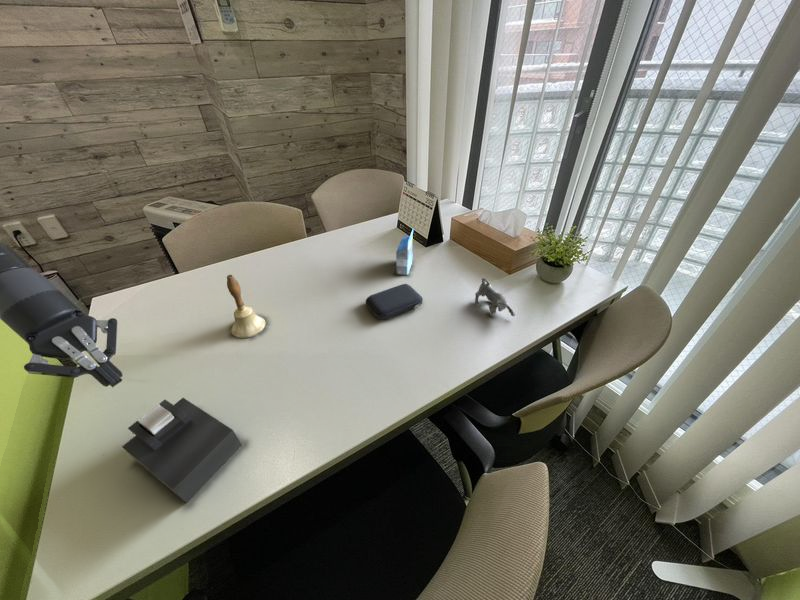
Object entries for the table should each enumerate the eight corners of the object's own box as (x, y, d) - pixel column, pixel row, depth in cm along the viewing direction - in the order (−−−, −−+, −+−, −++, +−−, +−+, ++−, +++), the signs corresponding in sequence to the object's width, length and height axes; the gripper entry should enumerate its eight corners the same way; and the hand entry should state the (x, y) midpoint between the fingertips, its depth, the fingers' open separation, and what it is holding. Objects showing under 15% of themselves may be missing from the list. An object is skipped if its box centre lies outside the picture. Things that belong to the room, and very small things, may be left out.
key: (142, 426, 56) (137, 420, 55) (162, 409, 58) (158, 404, 57) (154, 435, 54) (149, 430, 53) (175, 418, 57) (170, 412, 56)
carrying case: (381, 326, 85) (427, 307, 91) (380, 317, 83) (428, 299, 89) (363, 304, 92) (407, 288, 98) (362, 295, 90) (407, 279, 96)
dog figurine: (470, 300, 93) (474, 279, 89) (486, 294, 95) (490, 273, 91) (498, 325, 85) (503, 303, 80) (515, 318, 87) (521, 297, 82)
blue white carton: (401, 259, 111) (401, 226, 103) (412, 261, 110) (413, 227, 102) (396, 274, 104) (395, 239, 96) (408, 275, 103) (408, 240, 95)
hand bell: (242, 315, 88) (222, 265, 78) (270, 318, 87) (254, 268, 78) (225, 336, 82) (201, 285, 72) (256, 339, 81) (235, 288, 71)
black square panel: (134, 459, 58) (113, 439, 54) (191, 411, 65) (176, 390, 61) (186, 503, 52) (167, 484, 48) (242, 445, 60) (229, 424, 56)
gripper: (-37, 322, 43) (68, 412, 46) (78, 273, 52) (159, 351, 55) (-20, 336, 49) (72, 417, 52) (81, 290, 58) (155, 361, 61)
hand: (117, 383), depth 54 cm, fingers closed
